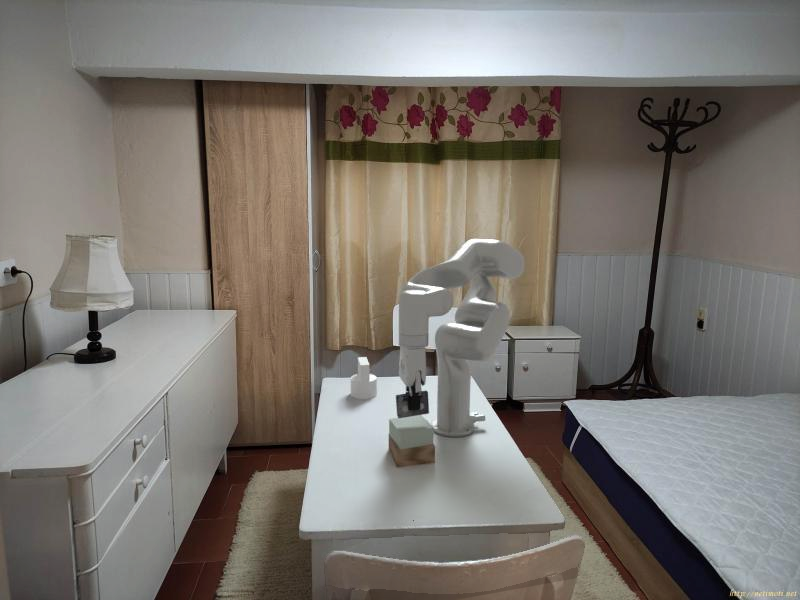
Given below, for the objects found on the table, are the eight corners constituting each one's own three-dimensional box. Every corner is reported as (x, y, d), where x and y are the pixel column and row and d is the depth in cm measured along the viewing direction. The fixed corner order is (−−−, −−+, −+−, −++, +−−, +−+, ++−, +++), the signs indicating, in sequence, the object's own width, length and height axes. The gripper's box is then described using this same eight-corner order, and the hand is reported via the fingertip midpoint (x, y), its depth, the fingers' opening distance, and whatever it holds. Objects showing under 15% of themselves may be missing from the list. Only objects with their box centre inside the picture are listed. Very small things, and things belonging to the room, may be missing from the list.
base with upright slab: (349, 390, 190) (349, 357, 187) (375, 389, 191) (374, 356, 189) (352, 400, 181) (351, 365, 179) (378, 398, 183) (378, 364, 180)
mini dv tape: (427, 411, 142) (426, 389, 141) (429, 413, 140) (427, 391, 139) (397, 416, 140) (395, 394, 139) (398, 418, 139) (396, 396, 137)
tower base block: (424, 446, 149) (424, 429, 148) (434, 464, 139) (435, 446, 138) (388, 450, 146) (388, 433, 145) (397, 468, 137) (397, 450, 136)
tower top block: (420, 429, 147) (420, 414, 147) (433, 444, 139) (433, 427, 138) (389, 434, 144) (389, 419, 144) (400, 449, 136) (400, 433, 135)
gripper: (392, 332, 143) (392, 398, 146) (406, 348, 128) (406, 421, 131) (419, 330, 145) (418, 396, 148) (437, 346, 130) (435, 418, 133)
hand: (412, 407), depth 140 cm, fingers closed on mini dv tape, 1 cm apart
